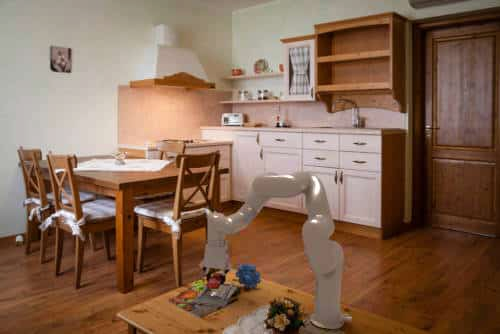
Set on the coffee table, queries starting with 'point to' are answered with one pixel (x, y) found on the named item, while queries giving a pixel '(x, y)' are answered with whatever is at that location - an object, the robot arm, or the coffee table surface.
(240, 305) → the coffee table surface
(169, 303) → the coffee table surface
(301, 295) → the coffee table surface
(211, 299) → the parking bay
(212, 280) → the race car
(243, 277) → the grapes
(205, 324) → the coffee table surface
